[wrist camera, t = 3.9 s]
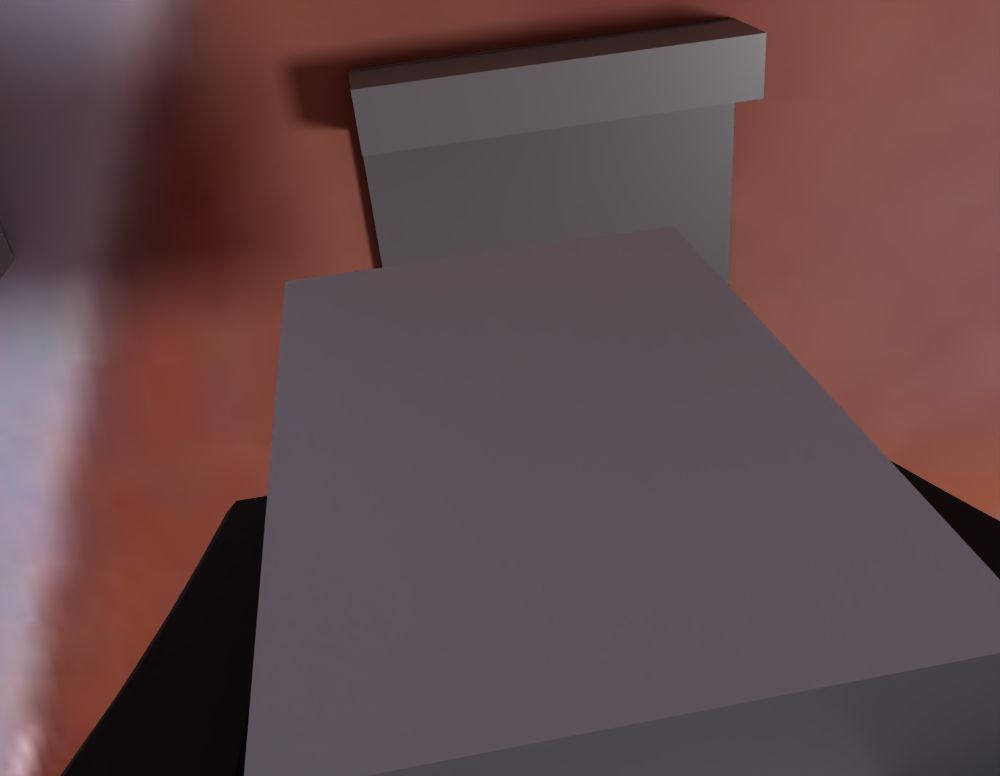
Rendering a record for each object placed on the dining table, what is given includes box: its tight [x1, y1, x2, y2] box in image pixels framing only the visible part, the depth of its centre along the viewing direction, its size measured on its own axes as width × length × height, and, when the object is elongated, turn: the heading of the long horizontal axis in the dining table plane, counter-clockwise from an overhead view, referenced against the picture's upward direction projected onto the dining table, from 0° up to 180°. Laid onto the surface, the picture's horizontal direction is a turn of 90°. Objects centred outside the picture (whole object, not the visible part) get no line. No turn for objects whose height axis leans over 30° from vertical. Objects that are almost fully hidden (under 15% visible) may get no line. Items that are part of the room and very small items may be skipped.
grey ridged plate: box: [348, 18, 766, 286], centre depth 17 cm, size 7×6×1 cm
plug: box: [244, 226, 1000, 776], centre depth 8 cm, size 4×4×7 cm
